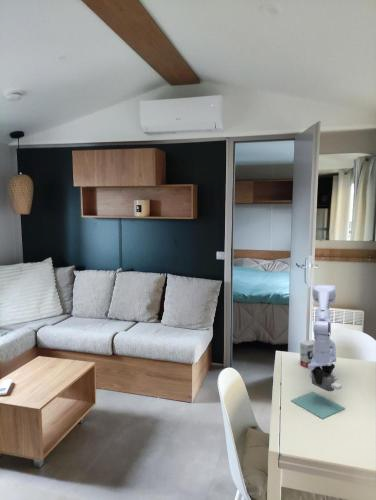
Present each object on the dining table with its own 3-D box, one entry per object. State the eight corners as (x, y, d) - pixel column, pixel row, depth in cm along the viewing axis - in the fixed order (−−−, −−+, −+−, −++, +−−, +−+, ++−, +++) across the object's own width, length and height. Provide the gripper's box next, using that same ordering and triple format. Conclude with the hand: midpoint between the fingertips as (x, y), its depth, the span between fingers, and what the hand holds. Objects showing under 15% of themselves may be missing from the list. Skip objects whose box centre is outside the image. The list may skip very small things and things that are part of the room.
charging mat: (290, 401, 150) (290, 400, 150) (312, 392, 157) (312, 391, 157) (322, 419, 136) (322, 418, 136) (345, 408, 143) (345, 407, 143)
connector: (309, 382, 151) (309, 370, 150) (316, 380, 153) (316, 368, 152) (336, 395, 140) (336, 382, 139) (343, 392, 142) (343, 380, 141)
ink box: (306, 368, 180) (306, 345, 179) (299, 364, 184) (299, 342, 183) (320, 364, 183) (319, 342, 182) (313, 361, 188) (312, 339, 187)
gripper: (317, 357, 139) (318, 391, 140) (342, 349, 146) (342, 381, 147) (303, 351, 145) (304, 384, 146) (328, 344, 152) (328, 375, 154)
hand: (322, 382), depth 147 cm, fingers closed on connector, 4 cm apart
